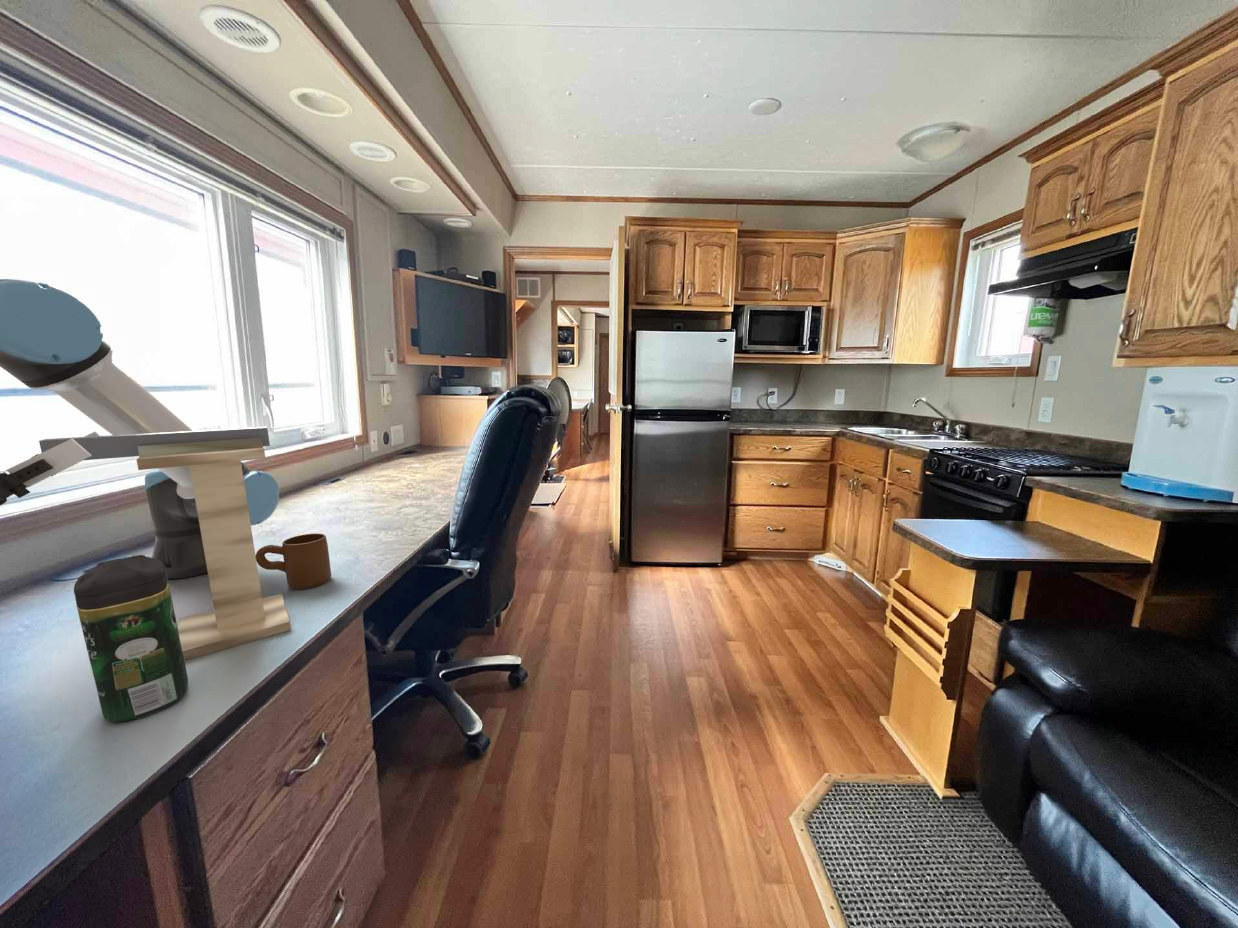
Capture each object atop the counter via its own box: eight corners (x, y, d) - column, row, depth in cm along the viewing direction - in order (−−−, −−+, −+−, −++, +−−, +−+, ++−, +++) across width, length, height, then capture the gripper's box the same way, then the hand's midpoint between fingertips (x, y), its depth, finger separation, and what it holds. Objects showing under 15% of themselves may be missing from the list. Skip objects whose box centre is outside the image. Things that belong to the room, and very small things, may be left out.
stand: (181, 626, 78) (146, 441, 73) (282, 601, 87) (258, 433, 82) (174, 663, 68) (133, 449, 63) (290, 629, 77) (263, 440, 71)
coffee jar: (104, 697, 60) (74, 561, 57) (187, 671, 66) (163, 545, 63) (98, 736, 54) (63, 584, 50) (191, 702, 59) (165, 564, 56)
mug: (257, 599, 88) (250, 552, 87) (263, 585, 95) (256, 540, 93) (331, 585, 94) (325, 540, 93) (332, 572, 101) (327, 530, 99)
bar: (50, 460, 64) (45, 439, 63) (268, 444, 79) (266, 426, 78) (44, 463, 61) (38, 440, 61) (269, 446, 76) (267, 427, 76)
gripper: (-39, 543, 66) (131, 455, 76) (-146, 604, 47) (99, 476, 57) (-98, 503, 63) (88, 416, 72) (-238, 552, 44) (39, 425, 53)
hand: (93, 442), depth 65 cm, fingers open, 13 cm apart
